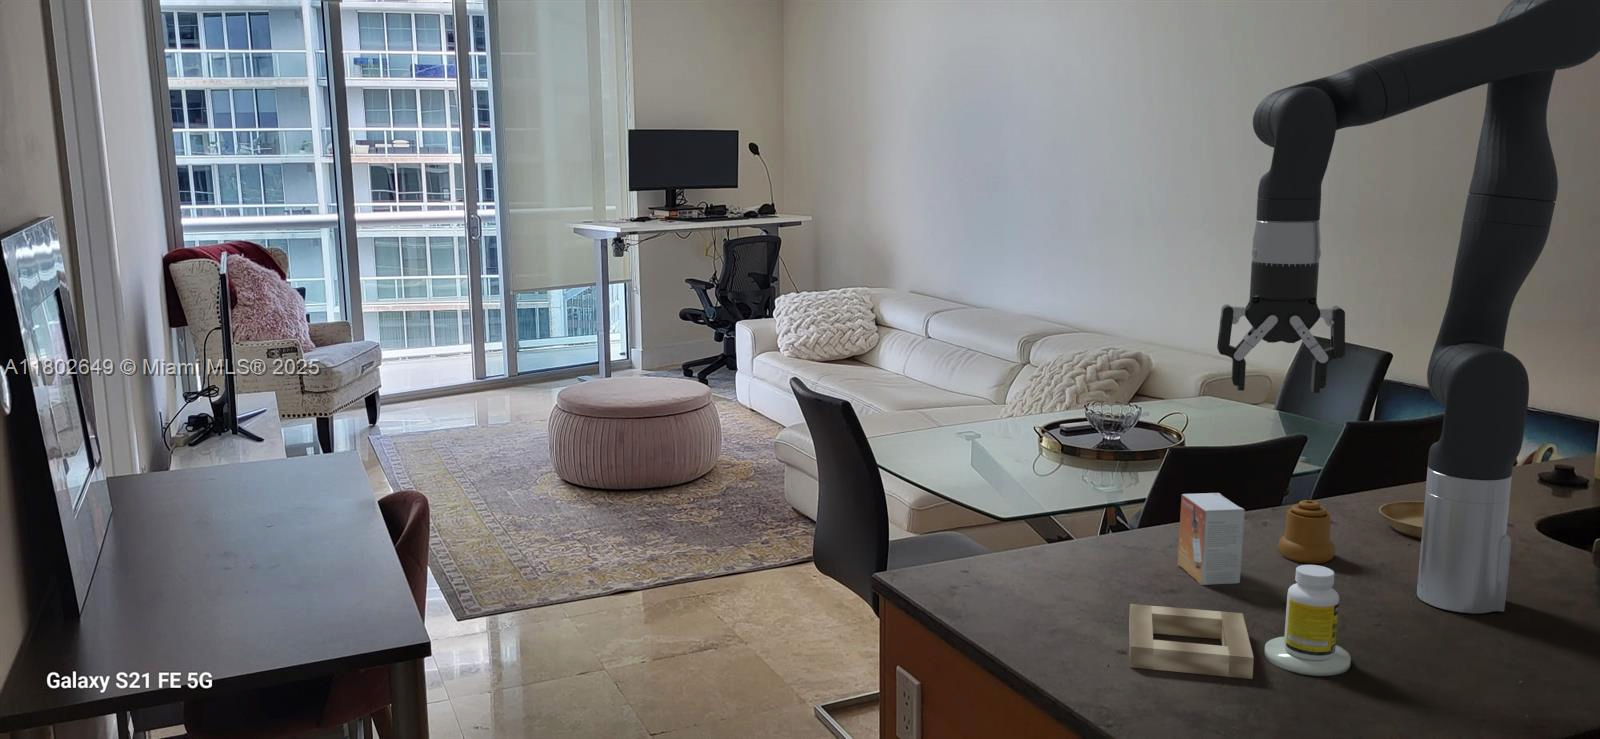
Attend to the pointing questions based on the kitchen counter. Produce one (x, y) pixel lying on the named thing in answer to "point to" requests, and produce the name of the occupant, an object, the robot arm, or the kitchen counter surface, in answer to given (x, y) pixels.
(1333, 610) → the supplement bottle
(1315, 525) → the ornamental finial
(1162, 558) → the kitchen counter surface
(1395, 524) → the plant saucer
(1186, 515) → the small box
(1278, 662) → the pale green pebble
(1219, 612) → the pocket block
